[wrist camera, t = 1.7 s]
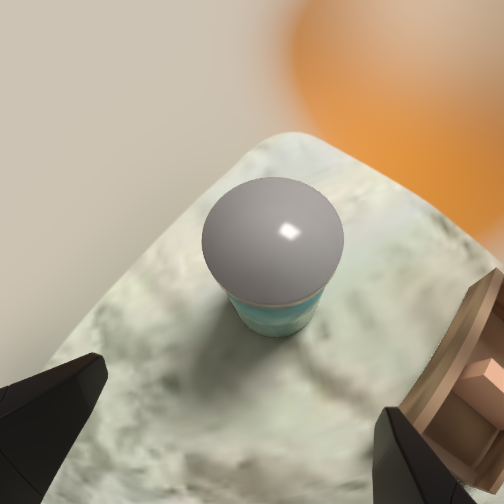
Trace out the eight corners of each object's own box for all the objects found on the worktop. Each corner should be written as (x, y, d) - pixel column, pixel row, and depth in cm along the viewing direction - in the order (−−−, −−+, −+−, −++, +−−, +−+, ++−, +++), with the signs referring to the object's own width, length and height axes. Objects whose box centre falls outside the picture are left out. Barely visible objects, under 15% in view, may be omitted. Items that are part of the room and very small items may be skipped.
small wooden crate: (466, 484, 15) (506, 498, 9) (383, 426, 18) (416, 435, 13) (536, 352, 18) (576, 337, 13) (469, 287, 22) (506, 259, 17)
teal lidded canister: (241, 349, 22) (214, 318, 13) (224, 266, 25) (194, 193, 16) (330, 327, 22) (363, 281, 13) (306, 247, 25) (317, 166, 16)
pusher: (498, 429, 15) (542, 430, 10) (441, 381, 18) (483, 374, 13) (505, 417, 15) (549, 415, 10) (449, 368, 18) (491, 358, 13)
